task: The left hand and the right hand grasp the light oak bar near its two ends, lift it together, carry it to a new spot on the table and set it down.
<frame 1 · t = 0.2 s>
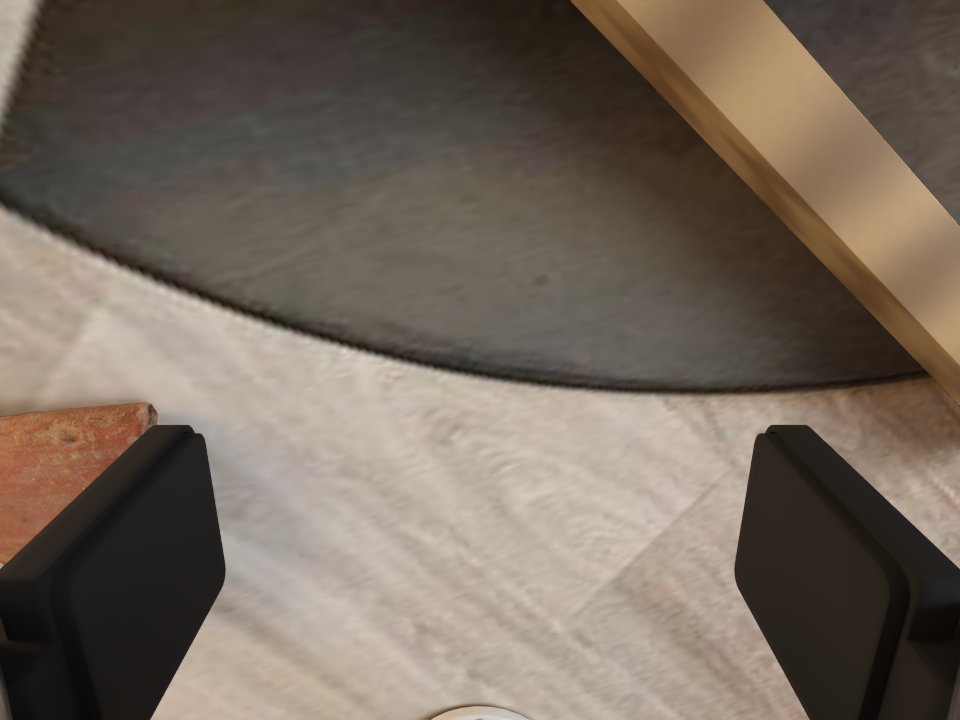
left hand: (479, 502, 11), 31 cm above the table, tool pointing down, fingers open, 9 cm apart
bar: (667, 39, 37), on the table
ceramic shard: (83, 495, 47), on the table
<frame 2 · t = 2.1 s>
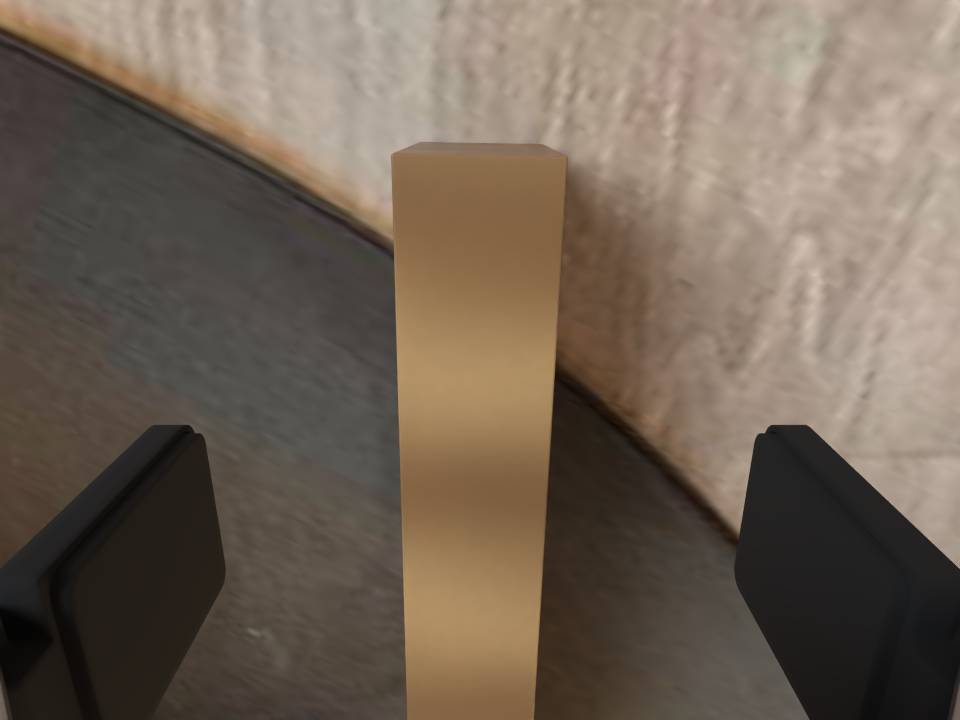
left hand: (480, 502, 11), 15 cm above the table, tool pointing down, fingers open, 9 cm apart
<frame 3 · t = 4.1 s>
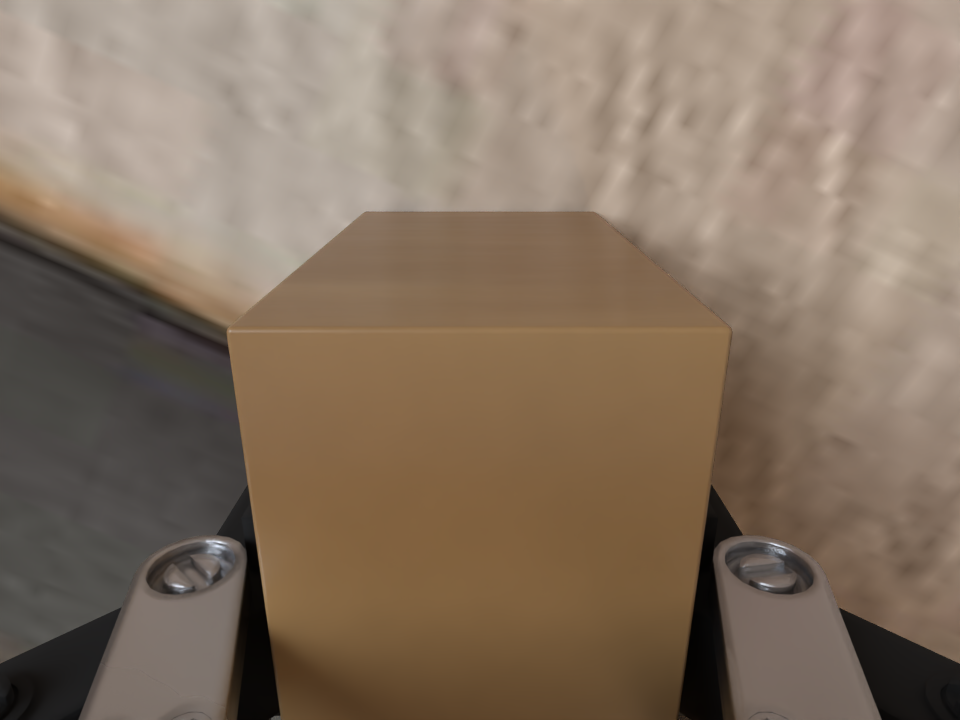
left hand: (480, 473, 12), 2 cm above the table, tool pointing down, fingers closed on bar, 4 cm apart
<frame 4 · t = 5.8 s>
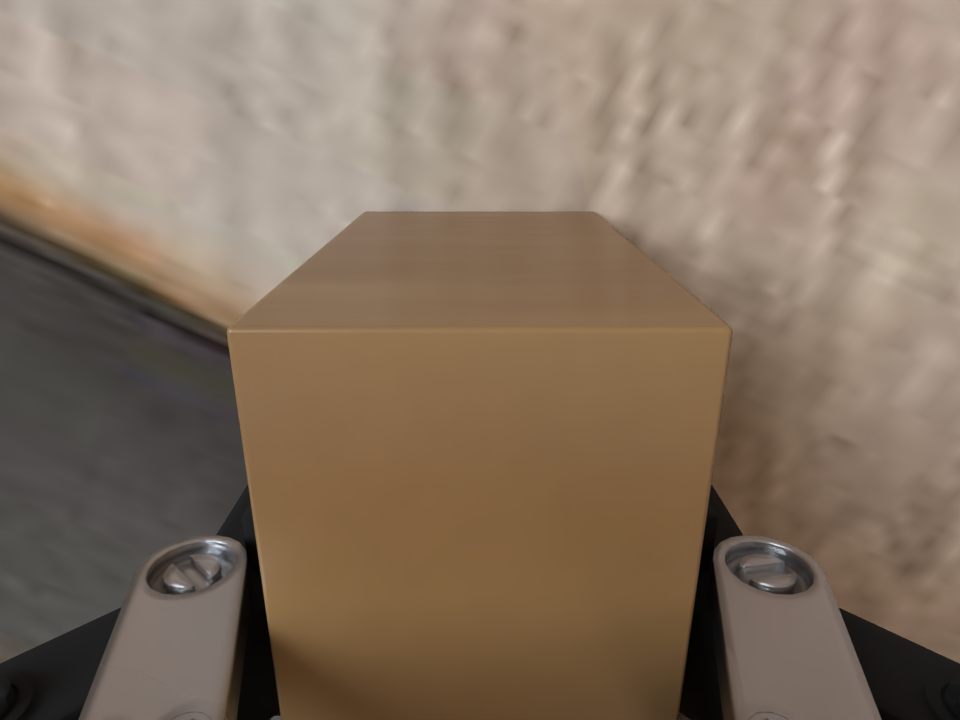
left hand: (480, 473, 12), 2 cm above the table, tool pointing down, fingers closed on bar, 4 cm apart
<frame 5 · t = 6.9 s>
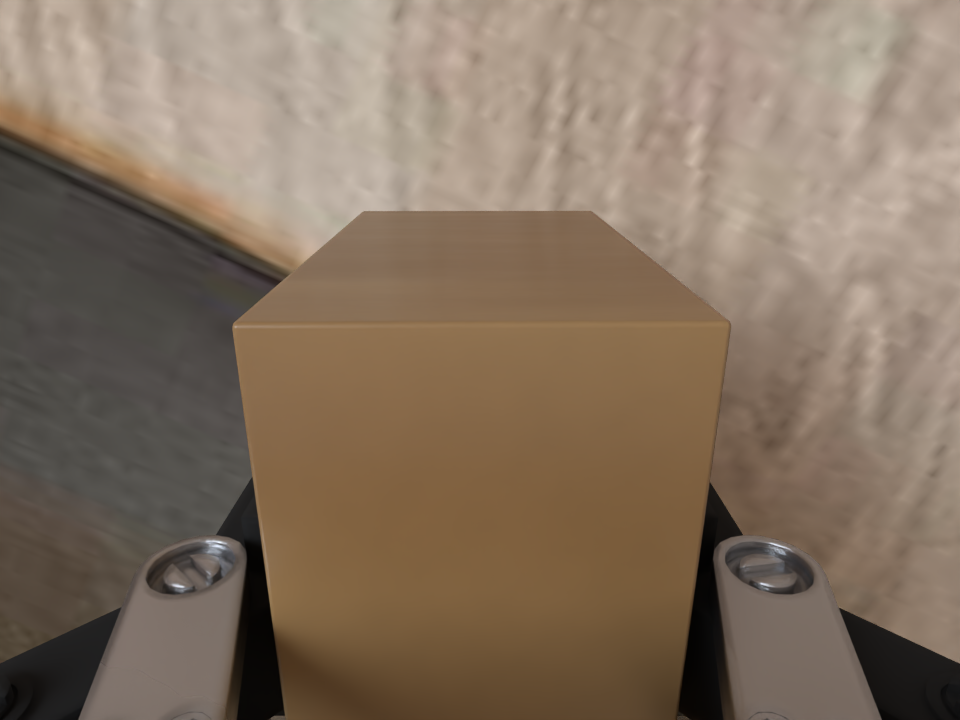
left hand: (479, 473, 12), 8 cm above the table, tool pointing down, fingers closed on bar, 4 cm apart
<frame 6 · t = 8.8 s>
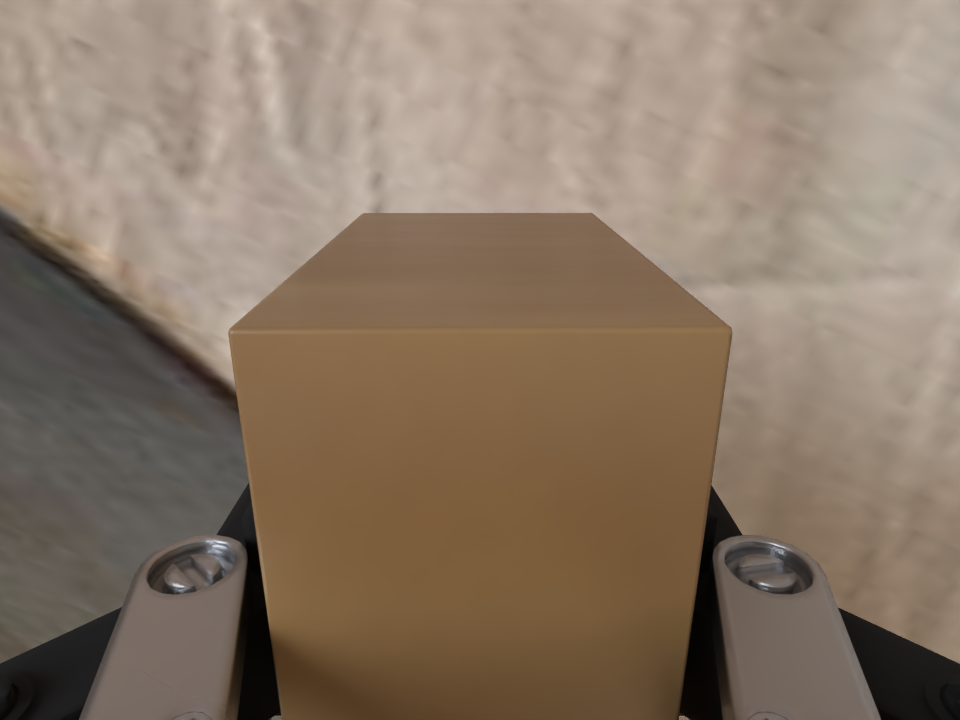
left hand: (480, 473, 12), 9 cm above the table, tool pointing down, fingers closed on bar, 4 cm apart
when the left hand's fingers open (3 cm above the table, at t = 10.1 s): bar stays where it is, on the table.
when the right hand's fingers open (4 cm above the table, at t = 10.1 s): bar stays where it is, on the table.
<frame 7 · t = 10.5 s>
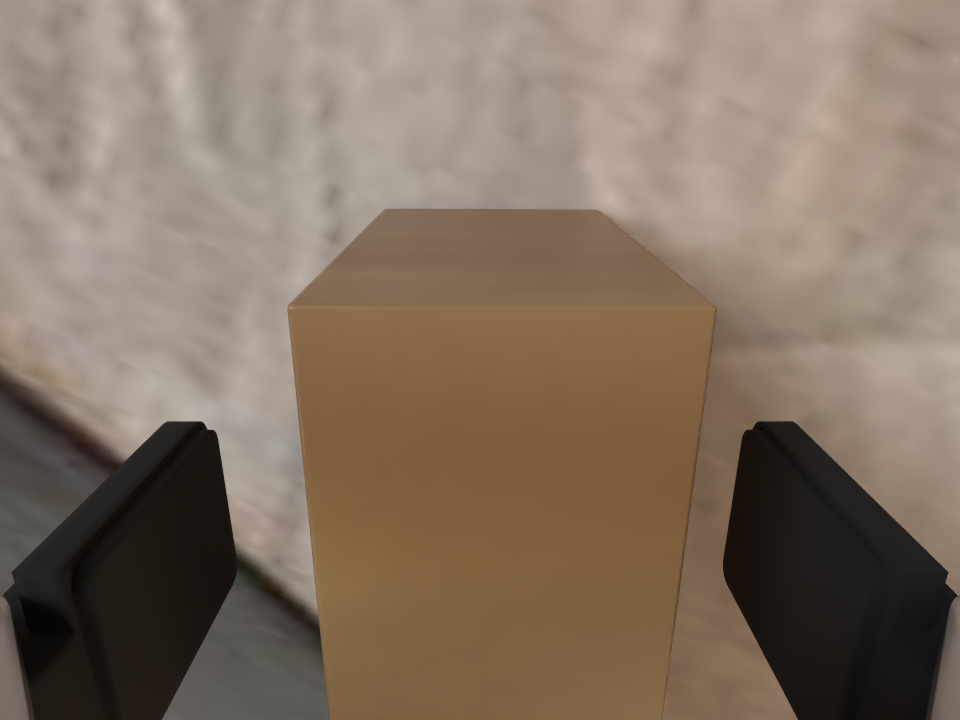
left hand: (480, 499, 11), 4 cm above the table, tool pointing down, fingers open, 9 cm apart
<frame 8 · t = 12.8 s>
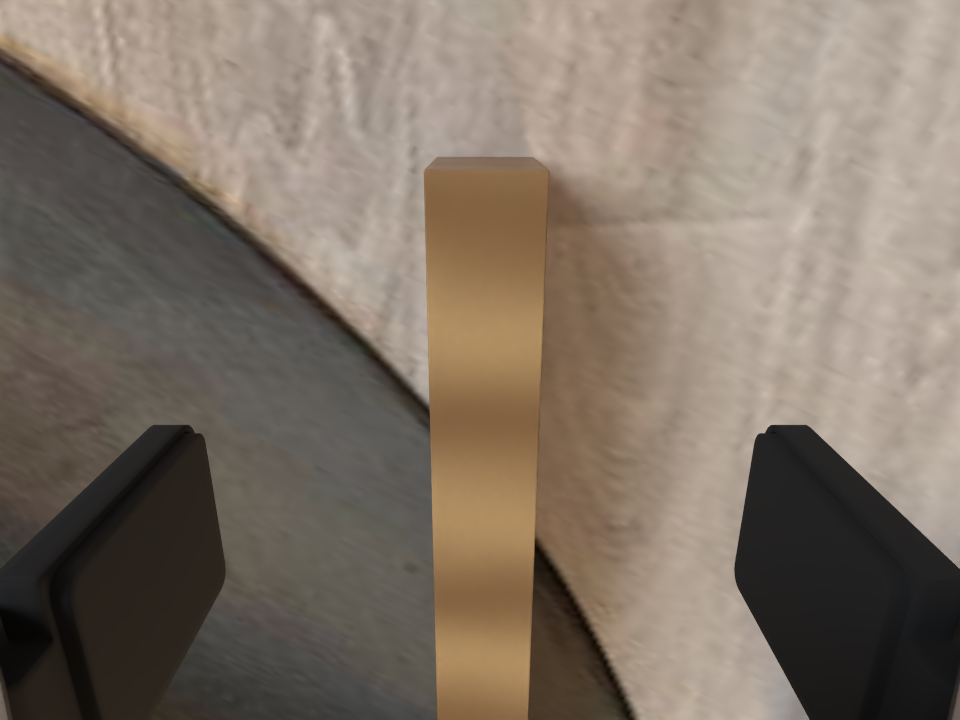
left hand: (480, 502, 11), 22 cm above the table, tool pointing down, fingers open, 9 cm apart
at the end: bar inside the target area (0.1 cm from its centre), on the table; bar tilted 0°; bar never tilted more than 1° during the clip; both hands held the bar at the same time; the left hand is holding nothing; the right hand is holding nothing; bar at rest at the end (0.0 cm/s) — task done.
